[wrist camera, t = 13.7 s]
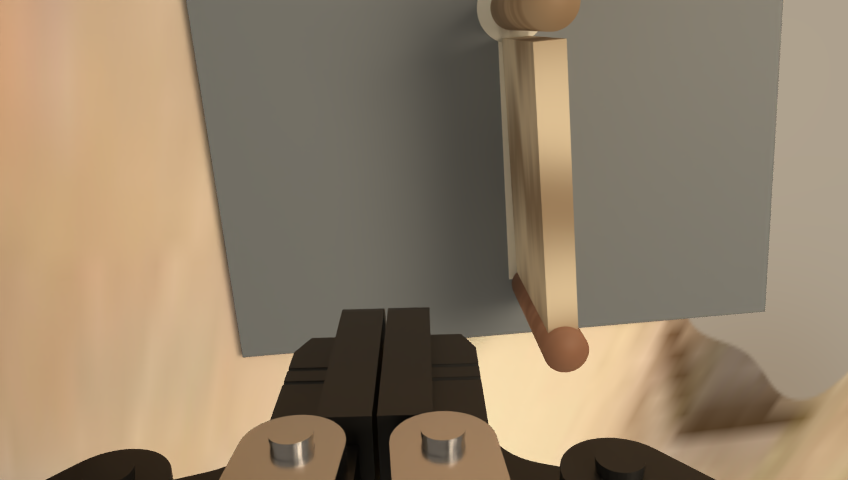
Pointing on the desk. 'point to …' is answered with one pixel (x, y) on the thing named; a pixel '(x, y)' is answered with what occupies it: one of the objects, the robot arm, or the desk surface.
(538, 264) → the fence swing section
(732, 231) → the board
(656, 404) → the desk surface
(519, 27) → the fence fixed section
